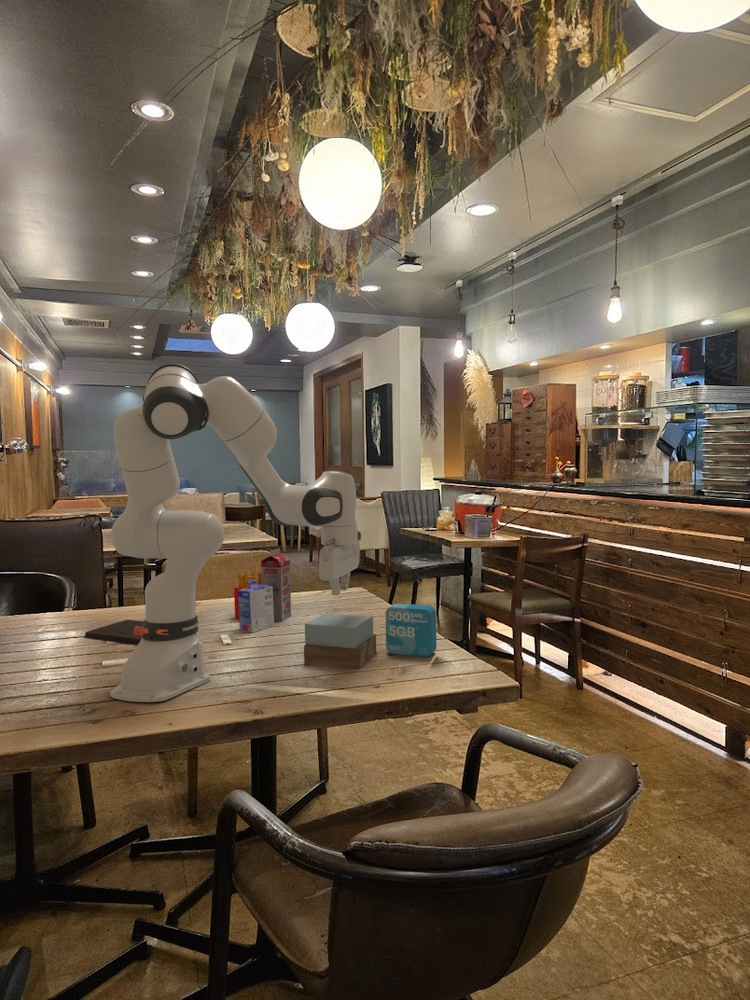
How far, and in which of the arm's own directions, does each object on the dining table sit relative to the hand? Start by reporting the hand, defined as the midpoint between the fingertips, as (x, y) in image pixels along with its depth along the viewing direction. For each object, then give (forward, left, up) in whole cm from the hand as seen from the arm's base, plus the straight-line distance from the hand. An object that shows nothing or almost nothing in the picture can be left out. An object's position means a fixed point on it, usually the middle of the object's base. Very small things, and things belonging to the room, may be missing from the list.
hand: (340, 592), depth 160 cm
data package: (+7, -16, -17) cm, 24 cm away
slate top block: (-1, 0, -12) cm, 12 cm away
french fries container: (+34, +41, -17) cm, 56 cm away
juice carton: (+34, +33, -17) cm, 50 cm away
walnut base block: (0, 0, -17) cm, 17 cm away
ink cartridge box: (+22, +34, -17) cm, 44 cm away
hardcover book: (+8, +65, -17) cm, 68 cm away
